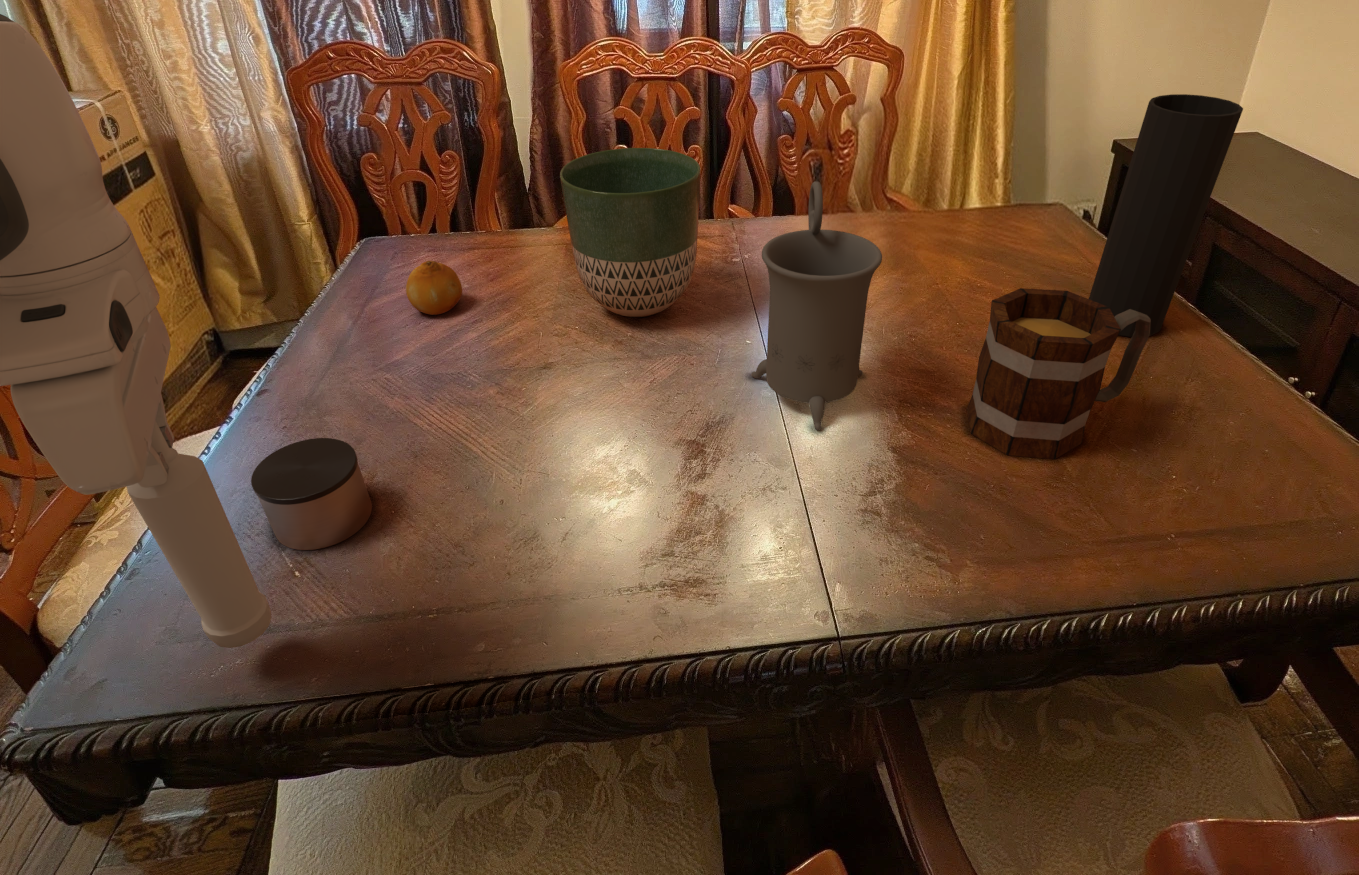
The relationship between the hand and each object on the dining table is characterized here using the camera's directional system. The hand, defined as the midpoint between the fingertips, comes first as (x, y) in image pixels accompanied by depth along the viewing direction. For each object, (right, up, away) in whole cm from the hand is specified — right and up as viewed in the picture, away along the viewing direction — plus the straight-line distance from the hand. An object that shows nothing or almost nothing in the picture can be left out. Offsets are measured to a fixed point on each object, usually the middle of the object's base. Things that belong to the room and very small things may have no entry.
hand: (159, 464), depth 58 cm
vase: (+103, +19, +58) cm, 120 cm away
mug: (+82, +4, +39) cm, 91 cm away
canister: (0, -7, +28) cm, 29 cm away
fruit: (0, +22, +67) cm, 71 cm away
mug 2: (+55, +8, +46) cm, 72 cm away
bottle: (0, -14, +10) cm, 18 cm away
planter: (+32, +22, +66) cm, 76 cm away
